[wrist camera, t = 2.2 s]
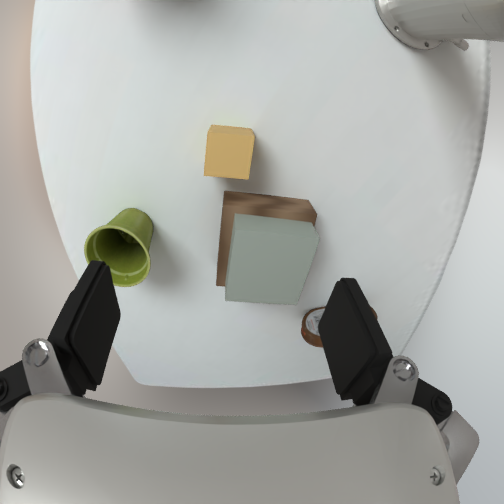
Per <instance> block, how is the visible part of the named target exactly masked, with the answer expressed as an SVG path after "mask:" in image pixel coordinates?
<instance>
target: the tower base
mask: <svg viewBox="0 0 504 504" xmlns="http://www.w3.org/2000/svg"><path fill="white" fill-rule="evenodd" d="M235 213H236V214H245V215H254V216H263V217H272V218H280V219H288V220H296V221H304V222H311V223H312V224H313V226H314V225H315V221H316V218H317V214H316V212H315V210H314V209H313V207H312V205H311V204H310V202H309V200H303V199H296V198H288V197H279V196H271V195H262V194H252V193H242V192H232V191H224V198H223V208H222V218H221V228H220V239H219V251H218V262H217V280H216V286H225V281H226V273H227V266H228V258H229V251H230V244H231V237H232V229H233V222H234V216H235Z"/></svg>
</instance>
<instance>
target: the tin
mask: <svg viewBox="0 0 504 504" xmlns="http://www.w3.org/2000/svg"><path fill="white" fill-rule="evenodd" d="M370 307H371V306H370ZM325 308H326V307H320V308H316V309H313V310H311V311H309V312H308V313H307V314H306V315H305V316H304V318H303V320H302V328H301V334H302V337H303V338H304V340H305V341H306V342H307V343H309V344H310V345H313V346H316V347H323V345H322V342H321V338H320V335H319V332H318V324H319V321H320V319H321V317H322V314H323V312H324V310H325ZM371 309H372V311H373V313H374V315H375V317H376V319H377V314H376V312H375V311H374V309H373V308H372V307H371Z"/></svg>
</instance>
